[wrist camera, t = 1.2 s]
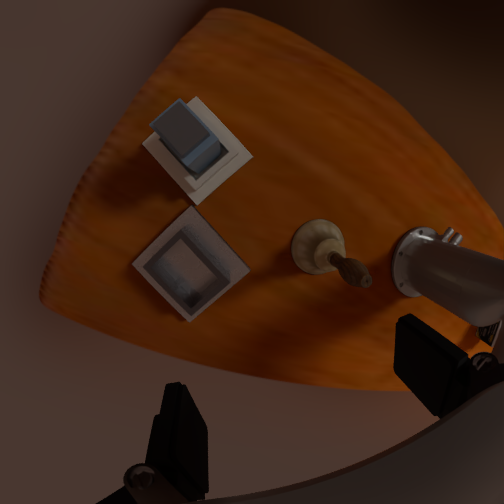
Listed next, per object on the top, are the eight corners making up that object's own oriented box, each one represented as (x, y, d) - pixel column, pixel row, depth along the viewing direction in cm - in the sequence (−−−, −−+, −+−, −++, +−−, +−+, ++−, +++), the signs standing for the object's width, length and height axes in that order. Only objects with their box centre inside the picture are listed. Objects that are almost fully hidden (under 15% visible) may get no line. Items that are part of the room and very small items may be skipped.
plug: (193, 123, 34) (177, 93, 22) (221, 154, 35) (218, 135, 23) (170, 143, 34) (144, 121, 22) (198, 174, 35) (184, 165, 23)
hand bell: (319, 284, 41) (366, 333, 26) (279, 252, 39) (311, 290, 24) (353, 242, 40) (415, 270, 25) (315, 207, 39) (368, 218, 23)
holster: (196, 97, 34) (193, 88, 30) (252, 157, 36) (255, 153, 33) (143, 144, 34) (135, 140, 31) (197, 205, 37) (194, 206, 33)
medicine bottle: (483, 309, 47) (515, 328, 35) (495, 307, 48) (525, 324, 36) (474, 335, 49) (504, 356, 37) (487, 332, 49) (515, 350, 38)
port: (192, 204, 37) (187, 206, 32) (249, 267, 40) (252, 278, 35) (135, 261, 38) (123, 270, 33) (190, 318, 40) (186, 333, 36)
